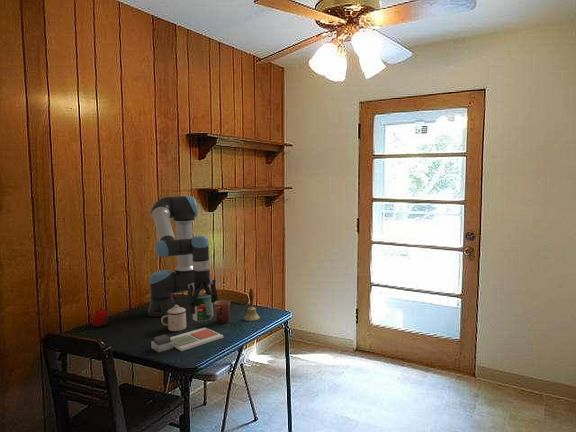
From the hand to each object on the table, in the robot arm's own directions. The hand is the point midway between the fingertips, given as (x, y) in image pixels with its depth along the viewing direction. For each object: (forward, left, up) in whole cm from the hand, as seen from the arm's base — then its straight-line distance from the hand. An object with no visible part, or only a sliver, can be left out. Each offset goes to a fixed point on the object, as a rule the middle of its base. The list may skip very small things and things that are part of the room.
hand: (203, 317), depth 192 cm
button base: (-1, -20, -9) cm, 22 cm away
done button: (-1, -20, -7) cm, 21 cm away
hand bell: (-4, +32, -9) cm, 33 cm away
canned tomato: (0, 0, -1) cm, 1 cm away
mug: (-10, +17, -9) cm, 21 cm away
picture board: (0, -5, -9) cm, 10 cm away
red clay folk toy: (-52, -28, -9) cm, 60 cm away
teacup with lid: (-20, -4, -9) cm, 23 cm away
